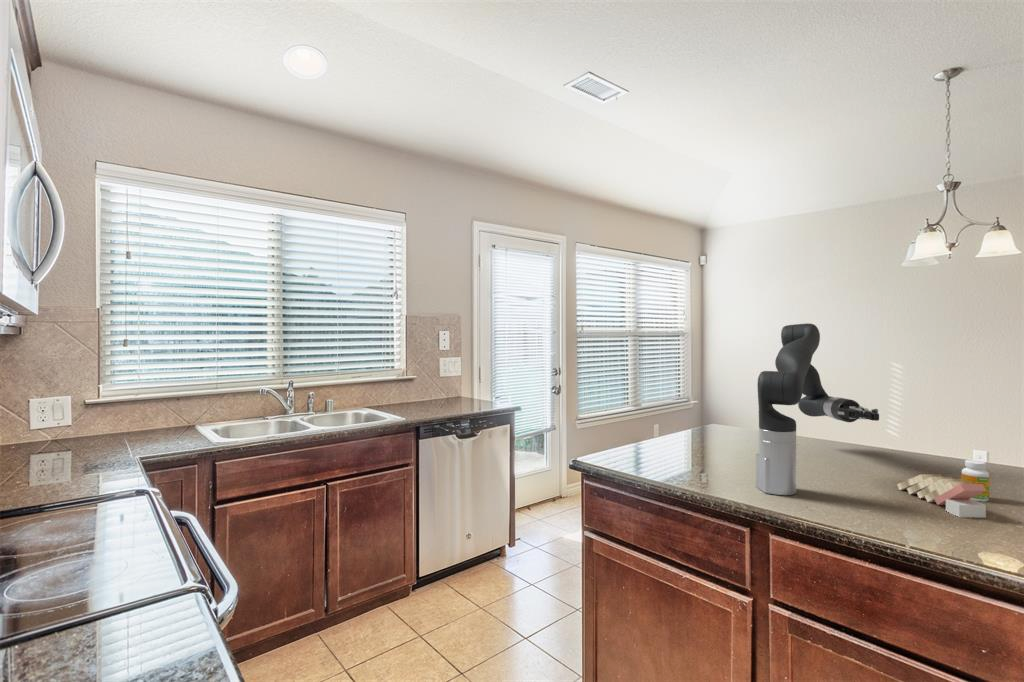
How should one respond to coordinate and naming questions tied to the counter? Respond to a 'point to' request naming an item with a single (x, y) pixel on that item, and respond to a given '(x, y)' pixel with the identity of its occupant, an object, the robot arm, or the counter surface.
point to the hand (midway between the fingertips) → (876, 417)
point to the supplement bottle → (976, 477)
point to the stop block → (966, 508)
